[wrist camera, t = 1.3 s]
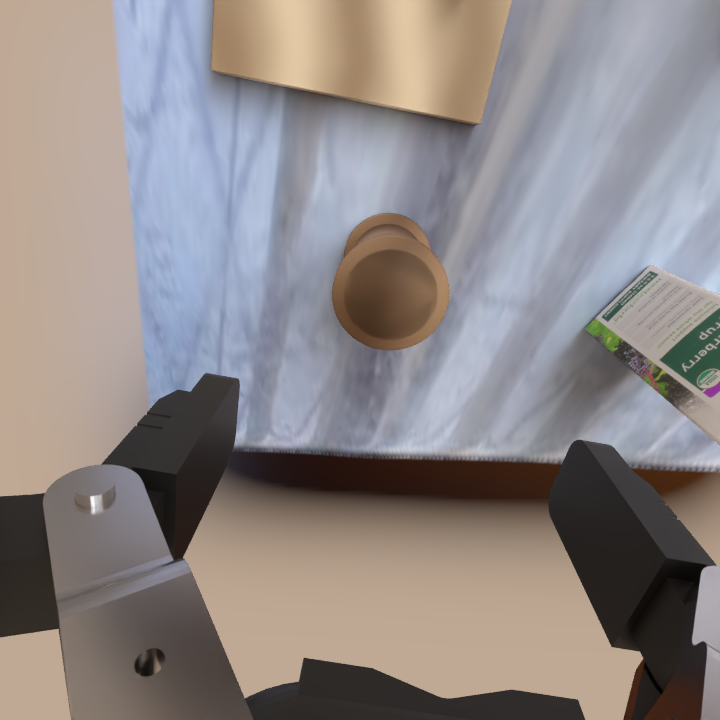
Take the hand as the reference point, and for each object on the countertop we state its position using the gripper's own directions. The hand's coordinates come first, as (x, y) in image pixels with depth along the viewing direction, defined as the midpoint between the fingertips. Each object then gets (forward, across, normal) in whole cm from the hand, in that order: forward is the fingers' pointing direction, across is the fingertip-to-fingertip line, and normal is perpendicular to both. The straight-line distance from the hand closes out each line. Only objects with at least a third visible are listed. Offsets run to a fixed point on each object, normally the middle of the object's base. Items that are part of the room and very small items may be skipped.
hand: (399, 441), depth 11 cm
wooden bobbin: (+21, 0, 0) cm, 21 cm away
